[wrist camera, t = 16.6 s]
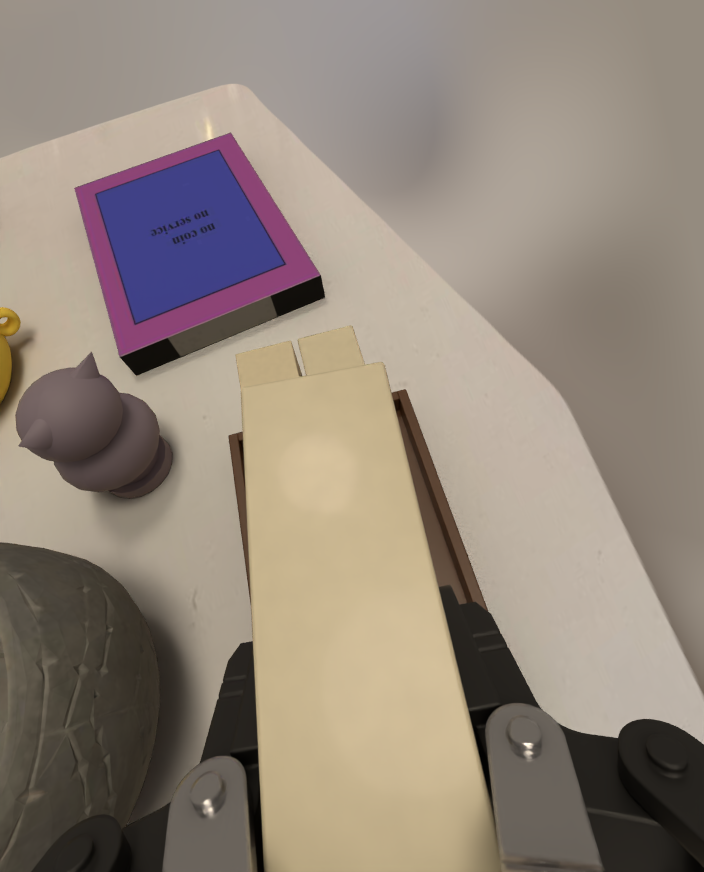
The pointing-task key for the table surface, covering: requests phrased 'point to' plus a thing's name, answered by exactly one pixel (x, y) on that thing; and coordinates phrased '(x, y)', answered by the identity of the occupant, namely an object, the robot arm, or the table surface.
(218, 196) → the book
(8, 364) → the teapot
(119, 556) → the table surface
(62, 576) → the bowl
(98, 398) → the cat figurine
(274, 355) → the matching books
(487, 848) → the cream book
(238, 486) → the walnut tray
